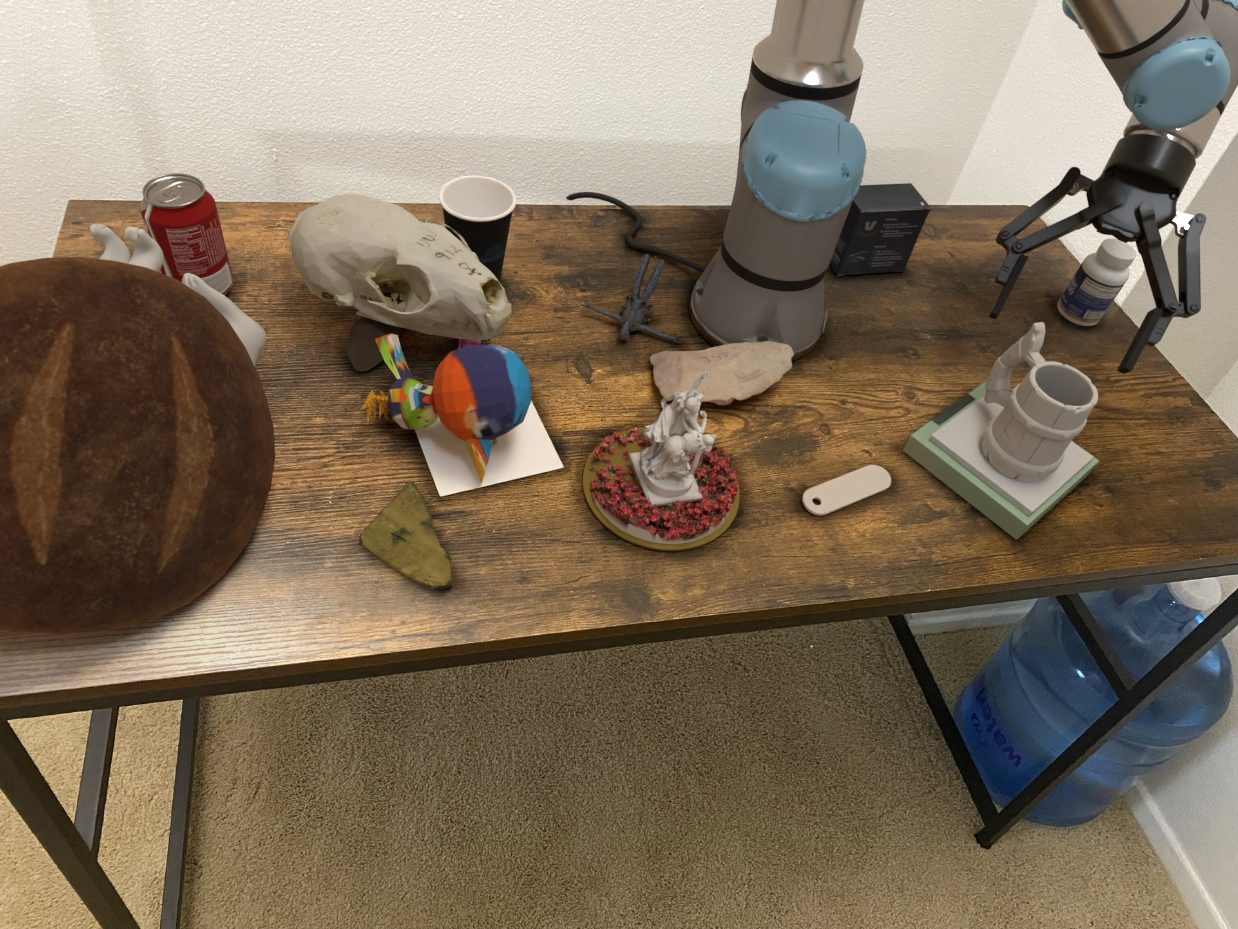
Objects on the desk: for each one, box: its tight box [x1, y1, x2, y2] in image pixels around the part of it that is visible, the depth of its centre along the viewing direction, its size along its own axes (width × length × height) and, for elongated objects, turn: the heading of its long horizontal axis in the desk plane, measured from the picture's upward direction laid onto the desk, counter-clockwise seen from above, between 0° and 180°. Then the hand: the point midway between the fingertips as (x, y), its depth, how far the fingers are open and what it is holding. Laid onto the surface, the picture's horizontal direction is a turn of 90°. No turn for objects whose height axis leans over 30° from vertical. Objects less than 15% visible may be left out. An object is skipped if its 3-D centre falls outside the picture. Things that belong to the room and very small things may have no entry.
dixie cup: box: [438, 174, 517, 282], centre depth 99 cm, size 8×8×11 cm
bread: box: [0, 256, 276, 635], centre depth 67 cm, size 28×27×9 cm
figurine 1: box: [345, 292, 404, 372], centre depth 95 cm, size 6×4×12 cm
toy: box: [361, 334, 533, 484], centre depth 84 cm, size 10×14×15 cm
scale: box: [902, 380, 1100, 540], centre depth 94 cm, size 14×14×3 cm
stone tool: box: [649, 341, 794, 406], centre depth 96 cm, size 9×5×15 cm
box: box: [829, 182, 932, 277], centre depth 112 cm, size 9×6×10 cm, turn 104°
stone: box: [359, 481, 454, 591], centre depth 79 cm, size 12×7×2 cm, turn 24°
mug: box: [982, 321, 1099, 482], centre depth 89 cm, size 8×12×12 cm, turn 16°
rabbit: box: [89, 223, 268, 367], centre depth 75 cm, size 12×21×25 cm
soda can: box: [139, 172, 234, 296], centre depth 93 cm, size 7×7×12 cm
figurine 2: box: [579, 253, 682, 344], centre depth 100 cm, size 12×10×5 cm
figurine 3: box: [582, 372, 741, 552], centre depth 82 cm, size 15×15×14 cm
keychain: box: [801, 464, 892, 517], centre depth 90 cm, size 10×1×3 cm
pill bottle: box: [1057, 238, 1137, 327], centre depth 111 cm, size 5×5×10 cm
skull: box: [288, 193, 513, 342], centre depth 89 cm, size 14×24×10 cm, turn 58°
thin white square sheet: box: [414, 400, 565, 498], centre depth 88 cm, size 12×12×2 cm
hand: (1057, 343), depth 94 cm, fingers open, 13 cm apart
